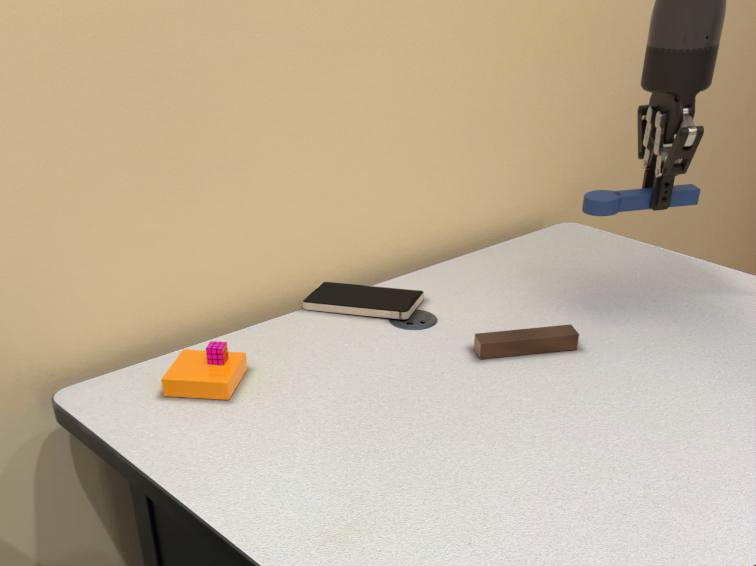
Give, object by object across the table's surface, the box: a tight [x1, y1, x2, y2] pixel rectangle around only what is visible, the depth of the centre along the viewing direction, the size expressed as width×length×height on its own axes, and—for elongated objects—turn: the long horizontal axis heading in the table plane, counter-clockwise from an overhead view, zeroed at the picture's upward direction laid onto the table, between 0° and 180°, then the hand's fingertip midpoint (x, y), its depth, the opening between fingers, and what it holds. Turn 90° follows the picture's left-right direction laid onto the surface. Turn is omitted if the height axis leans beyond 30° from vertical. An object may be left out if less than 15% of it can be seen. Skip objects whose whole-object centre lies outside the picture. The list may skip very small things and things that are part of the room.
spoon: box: [581, 183, 701, 217], centre depth 108 cm, size 14×4×2 cm, turn 95°
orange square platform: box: [160, 340, 248, 401], centre depth 105 cm, size 8×8×4 cm
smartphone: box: [302, 281, 425, 320], centre depth 122 cm, size 8×1×15 cm
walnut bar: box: [473, 324, 580, 360], centre depth 108 cm, size 12×3×2 cm, turn 96°
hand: (654, 204), depth 108 cm, fingers closed on spoon, 2 cm apart
